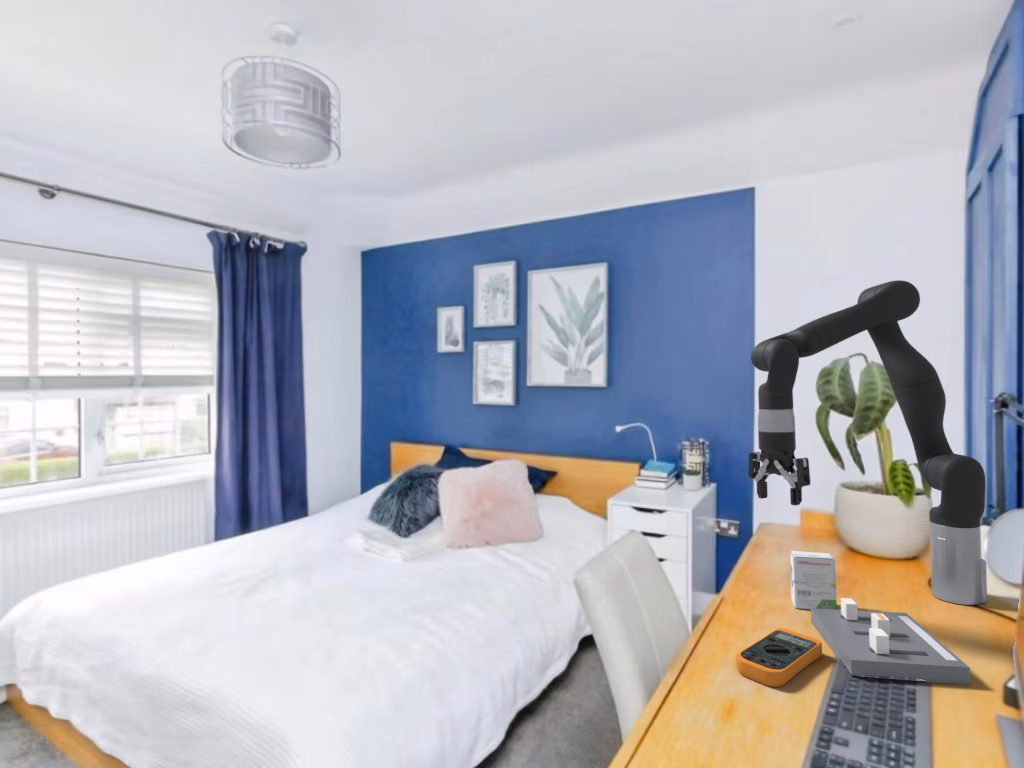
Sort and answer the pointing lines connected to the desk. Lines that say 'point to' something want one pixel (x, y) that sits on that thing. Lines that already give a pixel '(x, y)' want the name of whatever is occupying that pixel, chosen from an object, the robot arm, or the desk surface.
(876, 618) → the breaker
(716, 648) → the desk surface
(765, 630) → the desk surface
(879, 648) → the breaker
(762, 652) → the multimeter
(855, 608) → the block
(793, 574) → the ink box
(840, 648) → the slider switch panel
